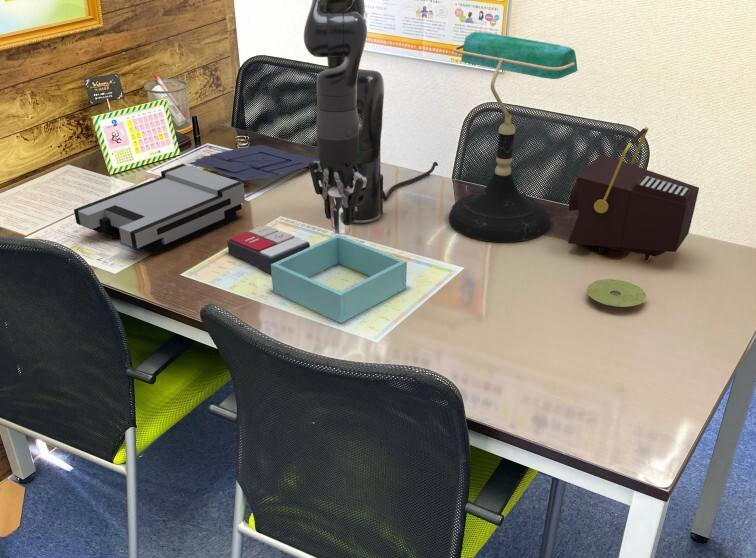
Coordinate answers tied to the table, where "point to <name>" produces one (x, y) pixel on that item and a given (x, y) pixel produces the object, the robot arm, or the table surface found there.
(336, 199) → the milkshake
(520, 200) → the banker's lamp
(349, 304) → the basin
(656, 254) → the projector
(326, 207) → the robot arm
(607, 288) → the green flat disc
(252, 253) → the red and gray box
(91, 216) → the game console
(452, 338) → the table surface
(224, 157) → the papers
